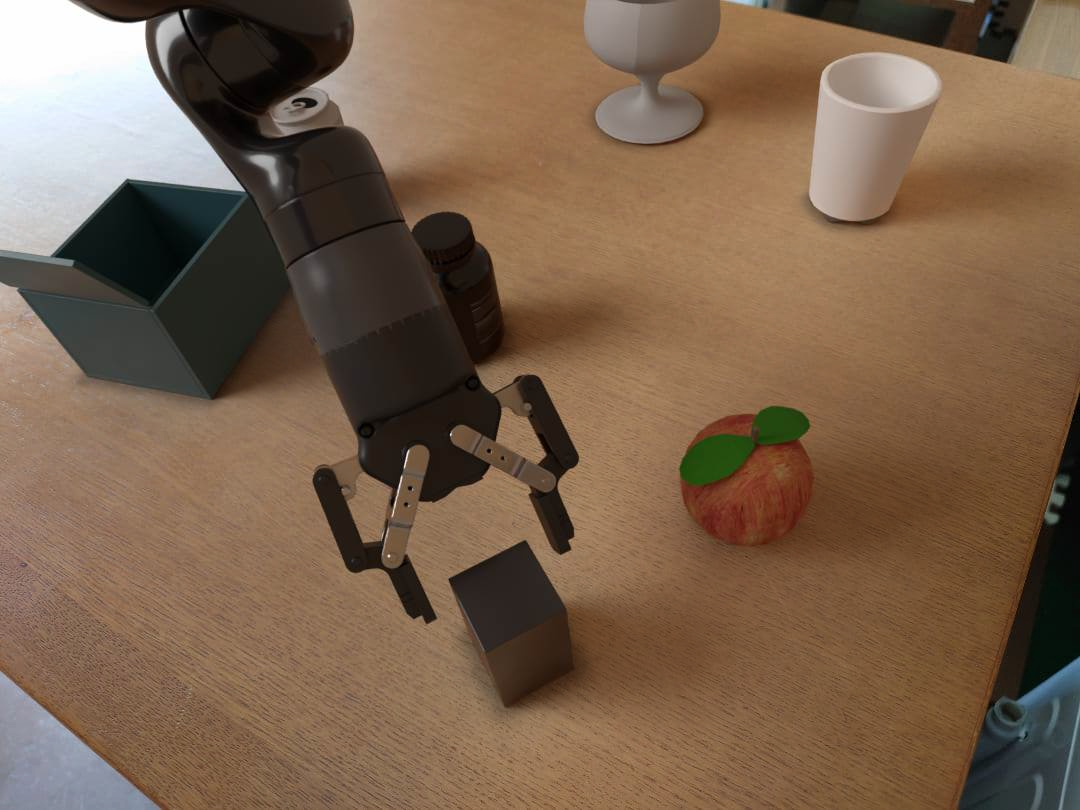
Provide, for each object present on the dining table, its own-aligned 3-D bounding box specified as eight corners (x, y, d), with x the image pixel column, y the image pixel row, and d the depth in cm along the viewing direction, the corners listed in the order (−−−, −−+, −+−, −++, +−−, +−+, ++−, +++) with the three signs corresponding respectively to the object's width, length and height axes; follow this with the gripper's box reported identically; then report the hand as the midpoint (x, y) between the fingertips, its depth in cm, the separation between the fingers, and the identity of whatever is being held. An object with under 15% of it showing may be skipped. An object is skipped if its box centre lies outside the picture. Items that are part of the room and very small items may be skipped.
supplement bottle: (491, 302, 71) (471, 192, 62) (516, 352, 67) (498, 242, 58) (420, 325, 70) (388, 217, 61) (440, 377, 66) (410, 269, 57)
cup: (906, 240, 72) (950, 113, 62) (795, 233, 74) (821, 109, 64) (897, 176, 78) (937, 51, 68) (795, 171, 80) (819, 50, 70)
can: (381, 193, 83) (350, 88, 74) (339, 235, 79) (301, 129, 70) (326, 179, 86) (290, 75, 77) (283, 219, 82) (239, 114, 73)
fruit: (829, 541, 53) (864, 457, 46) (703, 589, 52) (717, 511, 44) (765, 447, 59) (786, 358, 51) (649, 488, 57) (652, 403, 49)
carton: (211, 399, 66) (154, 311, 58) (87, 377, 70) (15, 290, 61) (292, 282, 75) (251, 192, 67) (178, 267, 78) (126, 178, 70)
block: (504, 708, 48) (484, 653, 41) (471, 640, 51) (447, 578, 44) (575, 669, 49) (567, 609, 42) (538, 605, 52) (525, 538, 45)
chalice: (695, 159, 82) (707, 15, 71) (571, 143, 86) (562, 4, 75) (723, 91, 90) (737, -48, 79) (607, 79, 94) (605, -55, 83)
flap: (150, 301, 58) (147, 308, 58) (11, 280, 61) (9, 286, 61) (75, 259, 51) (72, 266, 51) (-77, 238, 54) (-80, 245, 54)
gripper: (250, 375, 37) (389, 666, 40) (512, 266, 41) (627, 540, 43) (262, 377, 45) (379, 623, 47) (484, 284, 48) (584, 518, 50)
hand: (498, 583), depth 45 cm, fingers open, 8 cm apart
